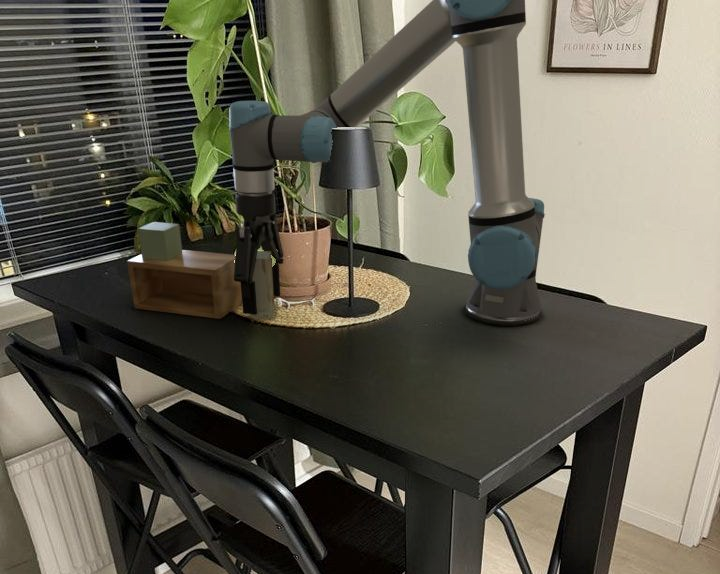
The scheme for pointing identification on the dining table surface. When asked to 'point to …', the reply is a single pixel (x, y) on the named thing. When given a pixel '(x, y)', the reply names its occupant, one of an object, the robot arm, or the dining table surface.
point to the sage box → (160, 241)
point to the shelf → (186, 284)
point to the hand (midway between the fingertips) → (262, 304)
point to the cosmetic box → (264, 285)
